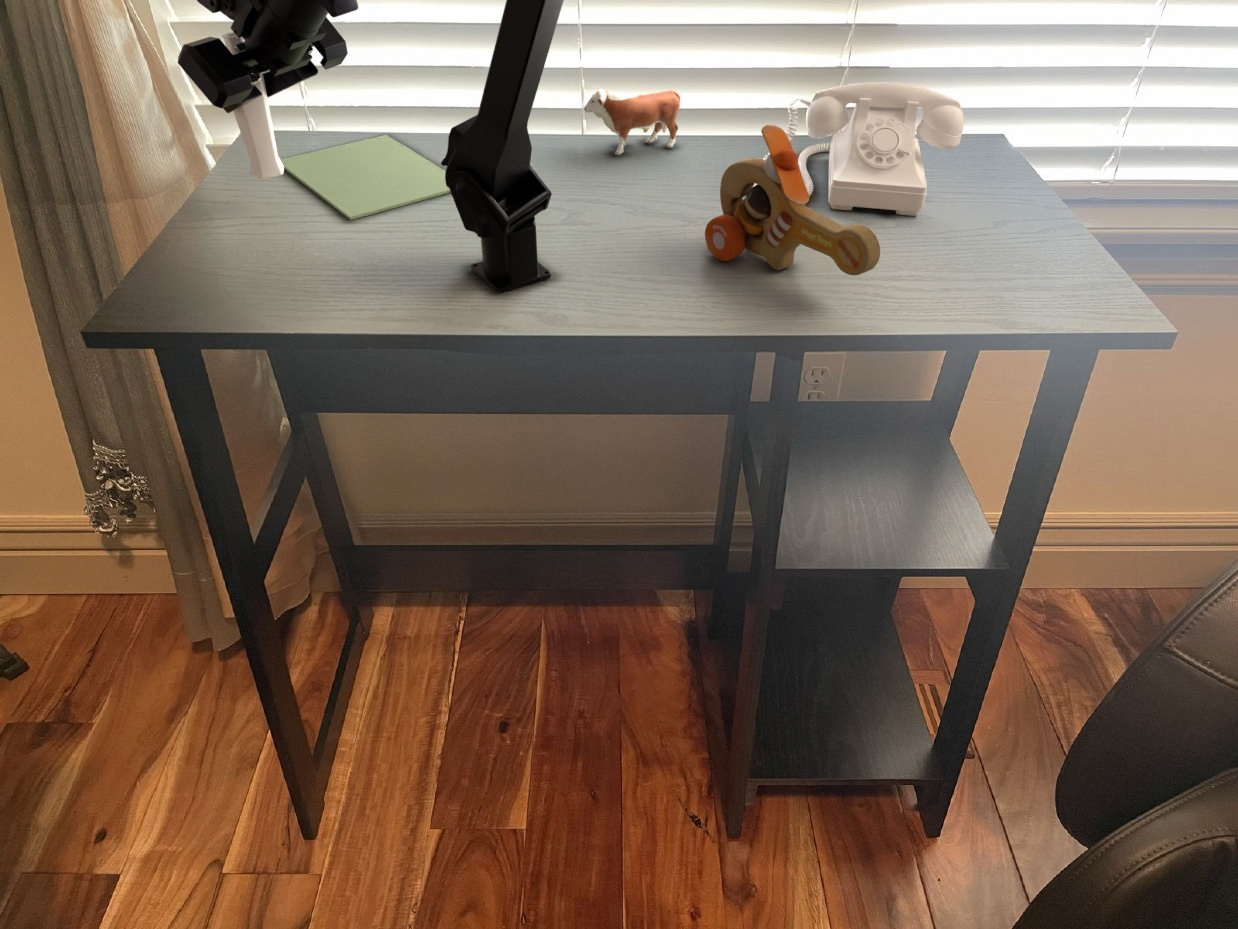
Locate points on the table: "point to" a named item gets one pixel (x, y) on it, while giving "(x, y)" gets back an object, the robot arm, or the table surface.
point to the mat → (368, 176)
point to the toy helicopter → (781, 215)
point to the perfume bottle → (257, 127)
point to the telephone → (877, 142)
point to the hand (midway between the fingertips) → (241, 103)
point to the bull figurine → (636, 113)
